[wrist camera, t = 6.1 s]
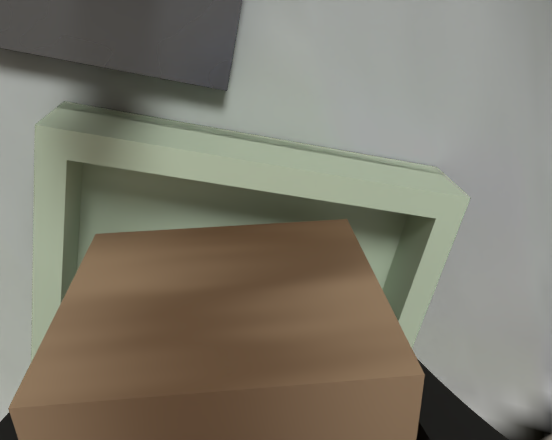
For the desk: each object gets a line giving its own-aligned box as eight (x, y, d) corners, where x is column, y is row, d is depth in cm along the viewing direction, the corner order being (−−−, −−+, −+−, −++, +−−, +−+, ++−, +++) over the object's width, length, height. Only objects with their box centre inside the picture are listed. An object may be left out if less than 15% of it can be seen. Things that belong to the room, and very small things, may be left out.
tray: (436, 167, 13) (470, 197, 11) (345, 428, 17) (359, 482, 15) (64, 101, 12) (35, 125, 10) (52, 403, 15) (29, 461, 13)
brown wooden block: (347, 219, 12) (425, 374, 7) (339, 403, 14) (394, 608, 9) (95, 233, 11) (8, 408, 7) (131, 421, 14) (85, 643, 9)
